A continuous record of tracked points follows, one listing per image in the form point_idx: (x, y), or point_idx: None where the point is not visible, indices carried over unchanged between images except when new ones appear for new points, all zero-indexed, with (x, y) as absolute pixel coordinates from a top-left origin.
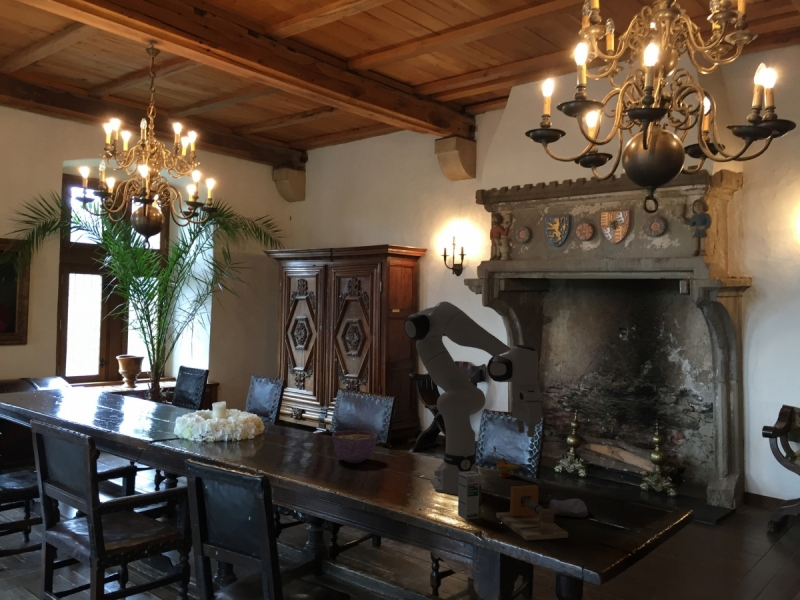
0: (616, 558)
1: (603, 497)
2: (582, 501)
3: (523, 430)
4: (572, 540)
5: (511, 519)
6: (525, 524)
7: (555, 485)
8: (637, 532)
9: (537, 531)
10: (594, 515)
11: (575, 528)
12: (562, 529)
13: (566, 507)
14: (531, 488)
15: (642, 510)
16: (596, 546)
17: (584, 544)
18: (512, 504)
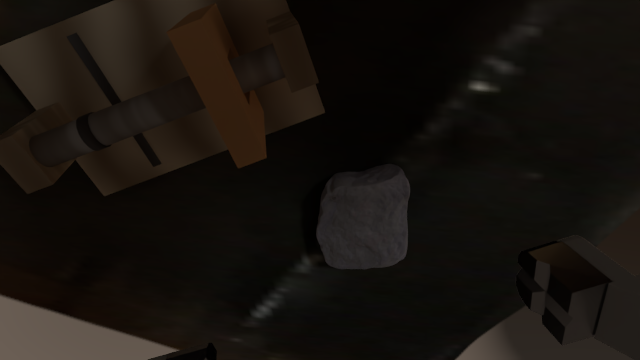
0: None
1: (497, 299)
2: (375, 266)
3: (538, 305)
4: (86, 197)
5: (182, 5)
6: (134, 60)
7: (626, 201)
8: (224, 337)
9: (65, 98)
10: (343, 269)
11: (210, 215)
12: (130, 183)
13: (339, 217)
14: (221, 132)
15: (394, 357)
16: (62, 250)
17: (64, 224)
18: (187, 17)
